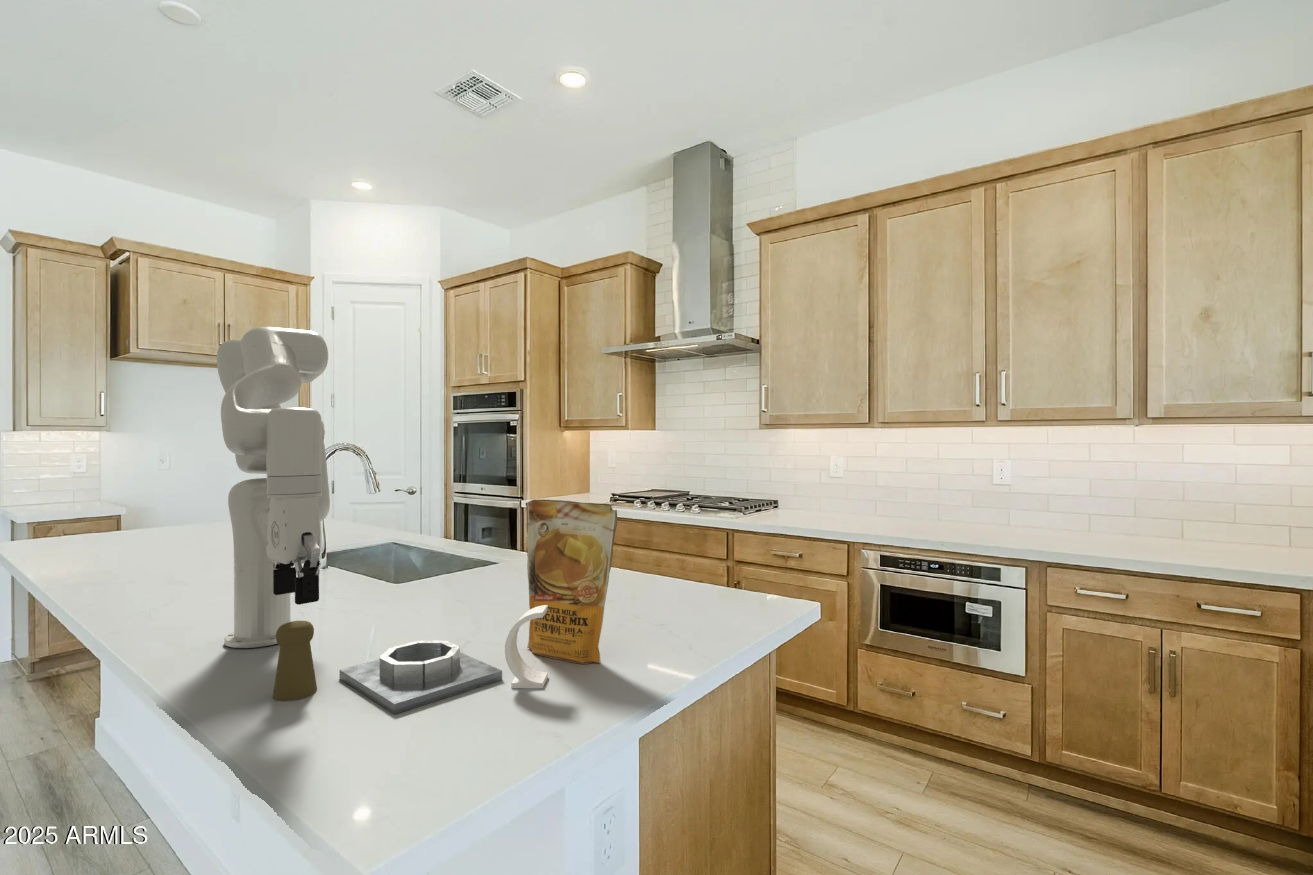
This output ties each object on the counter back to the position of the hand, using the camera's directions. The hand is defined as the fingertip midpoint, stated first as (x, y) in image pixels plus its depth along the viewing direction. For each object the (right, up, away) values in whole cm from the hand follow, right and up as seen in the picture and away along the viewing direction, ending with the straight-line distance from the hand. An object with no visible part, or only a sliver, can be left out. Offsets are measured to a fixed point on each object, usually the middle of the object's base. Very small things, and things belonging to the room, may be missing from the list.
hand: (295, 597), depth 100 cm
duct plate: (+17, -15, +6) cm, 23 cm away
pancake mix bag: (+39, -15, +18) cm, 46 cm away
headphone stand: (+35, -15, +5) cm, 38 cm away
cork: (0, -15, +1) cm, 15 cm away
